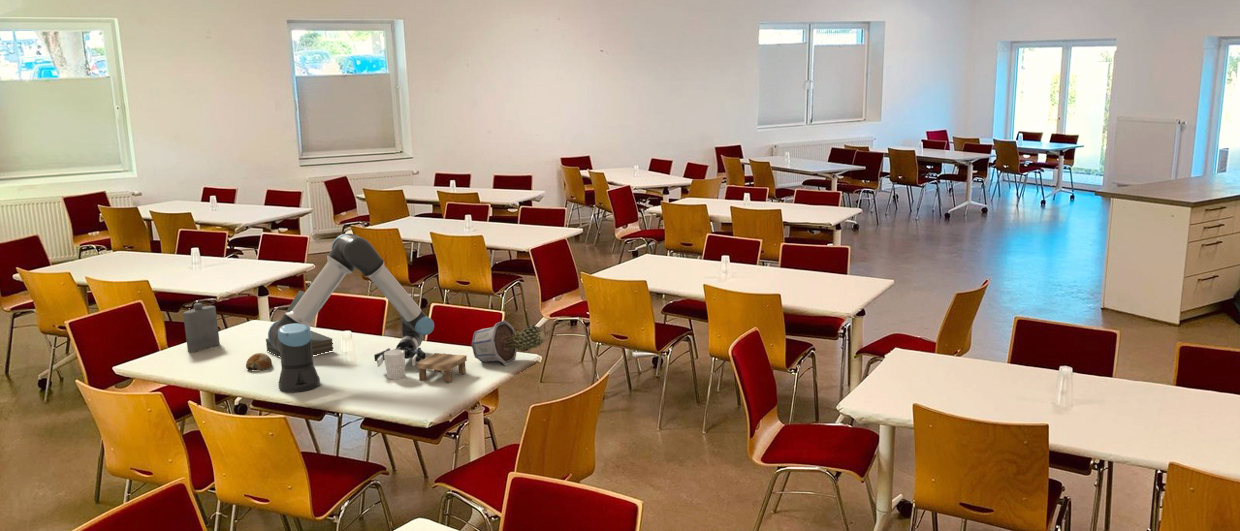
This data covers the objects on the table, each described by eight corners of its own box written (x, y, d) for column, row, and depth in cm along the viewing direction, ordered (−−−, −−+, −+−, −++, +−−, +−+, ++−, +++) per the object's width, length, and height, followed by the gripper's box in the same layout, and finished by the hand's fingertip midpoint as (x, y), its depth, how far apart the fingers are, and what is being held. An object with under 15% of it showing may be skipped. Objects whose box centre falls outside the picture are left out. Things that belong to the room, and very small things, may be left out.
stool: (417, 380, 372) (416, 363, 370) (436, 369, 384) (435, 353, 383) (449, 383, 367) (448, 366, 365) (467, 372, 380) (466, 355, 378)
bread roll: (273, 376, 394) (279, 358, 395) (250, 372, 386) (257, 352, 387) (262, 372, 400) (268, 353, 401) (239, 367, 393) (245, 348, 394)
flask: (213, 342, 434) (208, 299, 430) (222, 344, 431) (217, 300, 427) (184, 351, 422) (178, 306, 418) (192, 352, 419) (187, 308, 415)
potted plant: (462, 331, 386) (527, 318, 374) (484, 322, 402) (547, 309, 391) (473, 373, 387) (538, 361, 375) (494, 362, 403) (557, 351, 392)
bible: (267, 352, 417) (261, 296, 412) (309, 342, 430) (304, 288, 425) (290, 362, 401) (284, 304, 396) (334, 352, 414) (328, 296, 409)
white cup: (410, 375, 378) (408, 351, 376) (395, 381, 372) (394, 356, 370) (396, 372, 382) (394, 348, 380) (381, 378, 376) (379, 353, 374)
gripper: (437, 355, 397) (428, 371, 376) (377, 357, 397) (364, 373, 376) (436, 337, 395) (427, 352, 375) (375, 339, 395) (362, 354, 375)
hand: (395, 362), depth 375 cm, fingers open, 13 cm apart
